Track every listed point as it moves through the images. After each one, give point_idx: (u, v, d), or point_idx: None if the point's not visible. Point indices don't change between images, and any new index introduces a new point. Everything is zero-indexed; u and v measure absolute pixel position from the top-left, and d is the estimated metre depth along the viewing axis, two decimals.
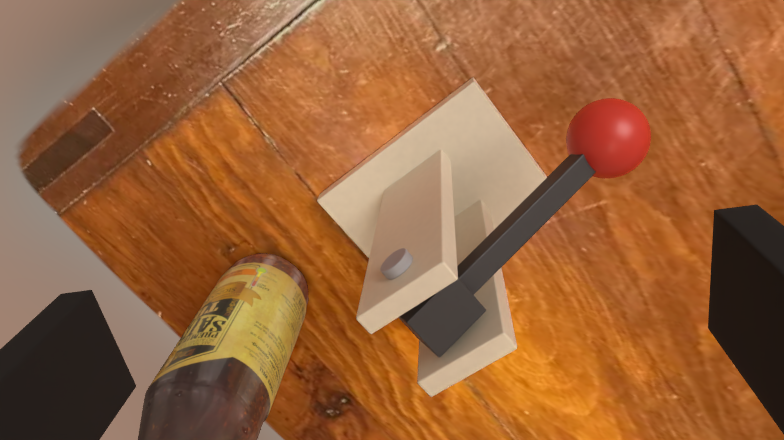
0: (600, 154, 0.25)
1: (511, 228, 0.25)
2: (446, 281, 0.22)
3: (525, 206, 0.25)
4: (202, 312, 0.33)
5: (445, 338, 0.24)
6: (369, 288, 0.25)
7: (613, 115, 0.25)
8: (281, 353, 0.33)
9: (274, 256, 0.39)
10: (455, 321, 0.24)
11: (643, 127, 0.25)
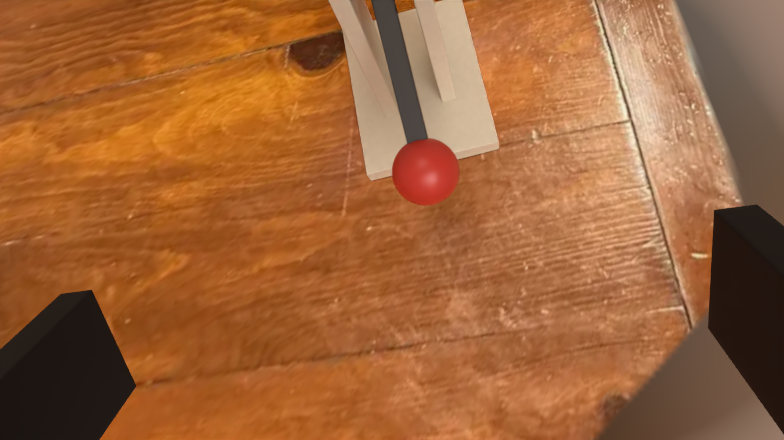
0: (422, 146, 0.30)
1: (403, 49, 0.29)
2: None
3: (411, 72, 0.30)
4: None
5: None
6: None
7: (447, 169, 0.29)
8: None
9: None
10: None
11: (426, 188, 0.29)
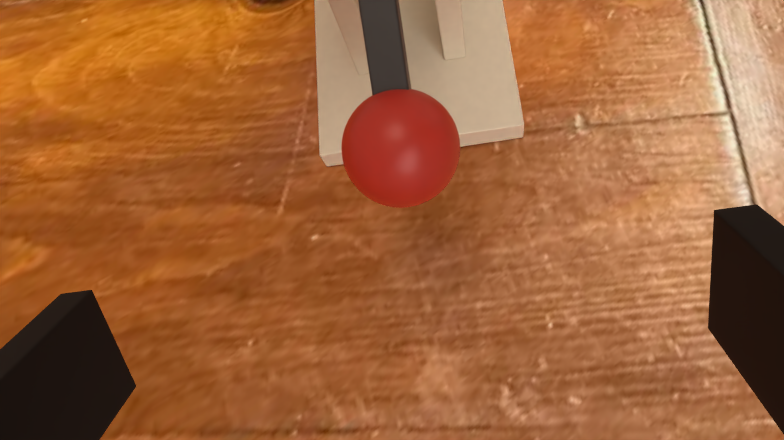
0: (398, 99, 0.16)
1: None
2: None
3: None
4: None
5: None
6: None
7: (439, 145, 0.16)
8: None
9: None
10: None
11: (397, 175, 0.16)
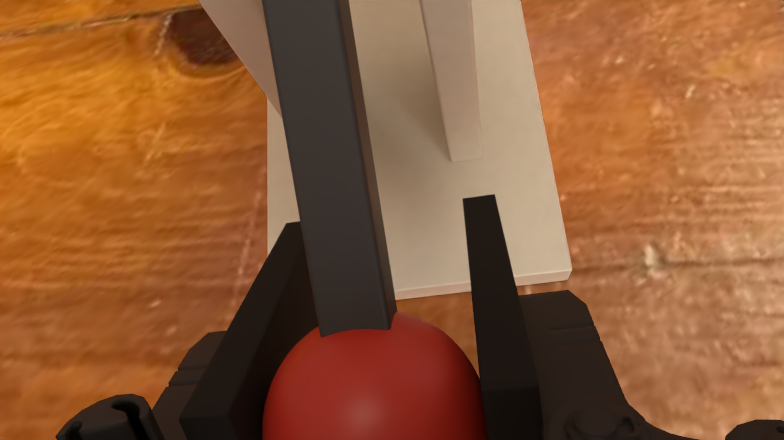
0: (367, 367, 0.08)
1: (331, 3, 0.08)
2: None
3: (357, 94, 0.08)
4: None
5: None
6: None
7: None
8: None
9: None
10: None
11: None
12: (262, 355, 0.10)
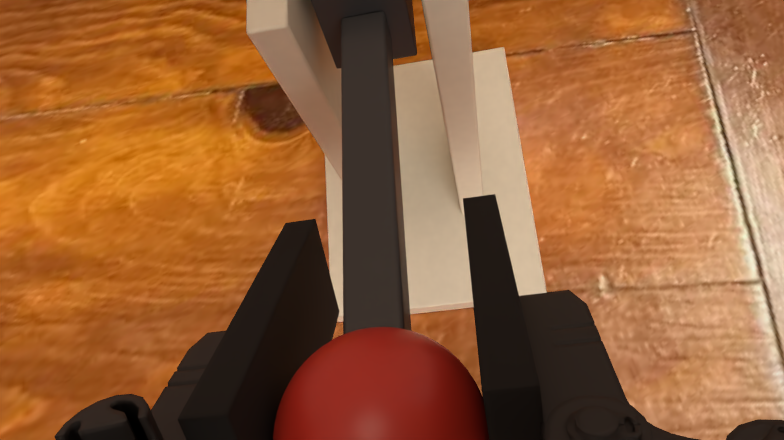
0: (381, 335, 0.09)
1: (385, 114, 0.12)
2: None
3: (396, 171, 0.12)
4: None
5: None
6: None
7: (448, 419, 0.08)
8: None
9: None
10: None
11: None
12: (261, 355, 0.10)
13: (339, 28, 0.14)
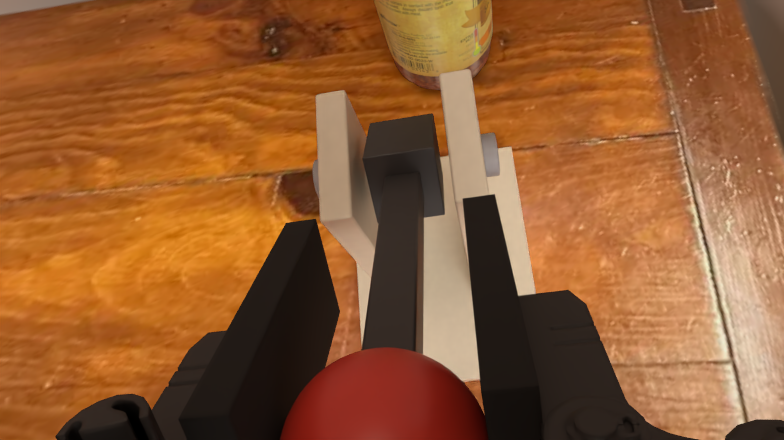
0: None
1: (414, 227, 0.15)
2: (459, 188, 0.17)
3: (419, 265, 0.14)
4: None
5: (381, 129, 0.19)
6: None
7: (448, 400, 0.09)
8: (403, 4, 0.28)
9: (474, 75, 0.34)
10: (386, 137, 0.18)
11: (360, 428, 0.08)
12: (262, 355, 0.10)
13: (382, 185, 0.18)
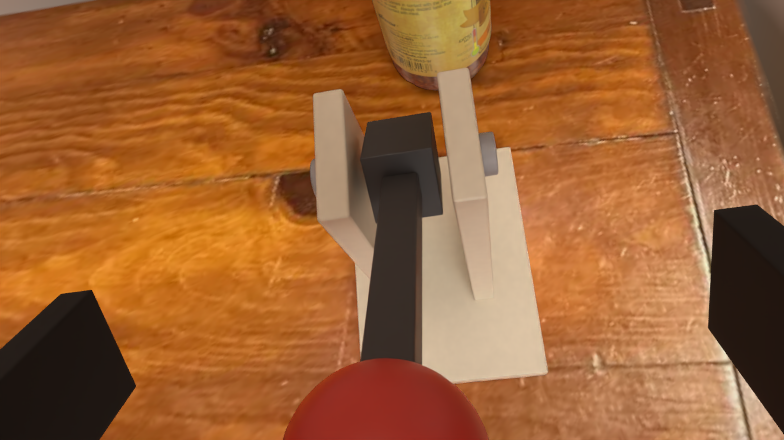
0: (392, 359, 0.10)
1: (412, 230, 0.15)
2: (458, 187, 0.16)
3: (418, 270, 0.14)
4: None
5: (379, 128, 0.19)
6: None
7: (448, 413, 0.09)
8: (401, 4, 0.28)
9: (472, 75, 0.34)
10: (384, 137, 0.18)
11: None
12: None
13: (380, 186, 0.18)
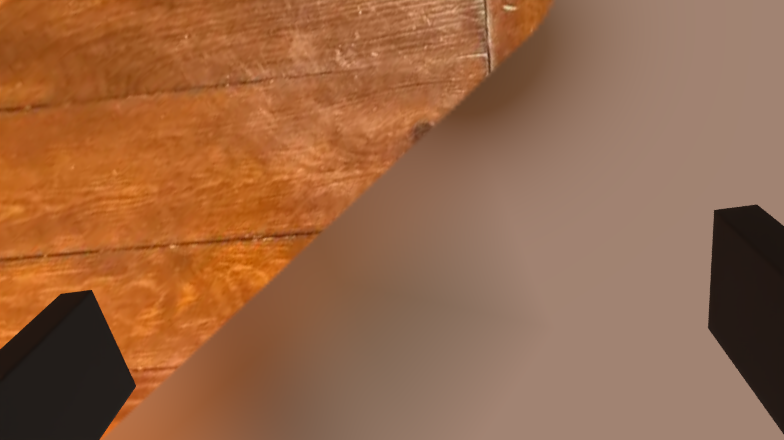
0: None
1: None
2: None
3: None
4: None
5: None
6: None
7: None
8: None
9: None
10: None
11: None
12: None
13: None
